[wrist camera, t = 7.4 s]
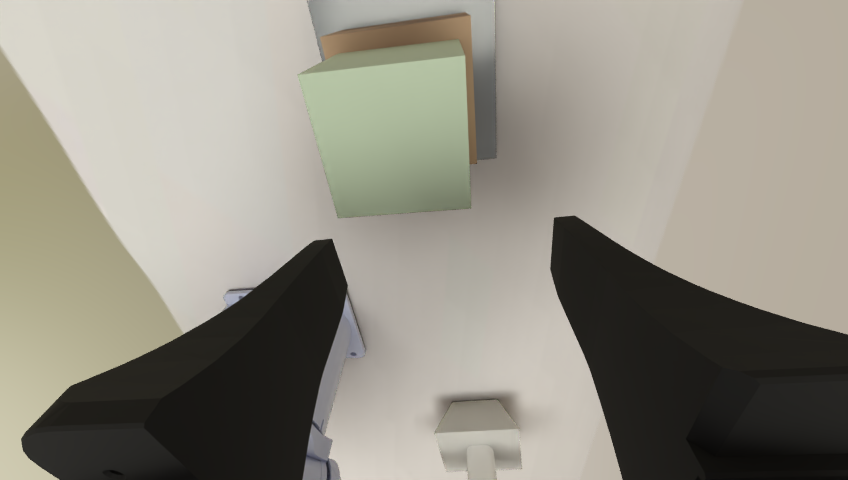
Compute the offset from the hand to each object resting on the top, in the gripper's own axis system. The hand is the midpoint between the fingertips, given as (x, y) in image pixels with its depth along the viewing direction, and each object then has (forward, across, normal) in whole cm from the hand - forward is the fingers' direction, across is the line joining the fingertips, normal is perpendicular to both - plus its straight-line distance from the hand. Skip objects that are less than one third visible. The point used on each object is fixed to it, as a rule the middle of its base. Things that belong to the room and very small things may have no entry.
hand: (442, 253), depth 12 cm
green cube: (+5, +1, -4) cm, 6 cm away
